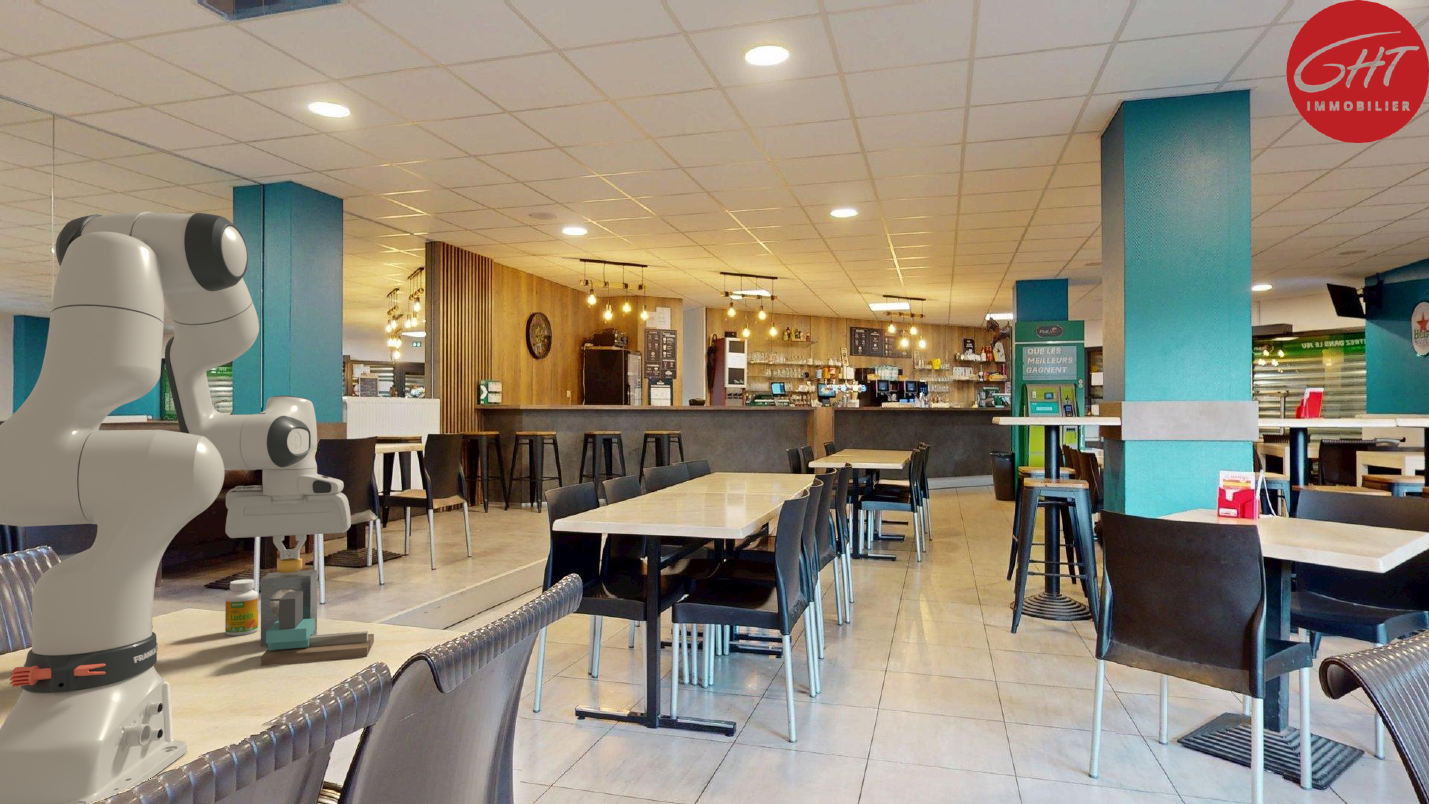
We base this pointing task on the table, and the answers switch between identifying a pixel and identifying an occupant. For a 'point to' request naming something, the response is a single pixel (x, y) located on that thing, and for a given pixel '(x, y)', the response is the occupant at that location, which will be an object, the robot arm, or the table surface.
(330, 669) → the table surface
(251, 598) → the supplement bottle
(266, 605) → the cabinet
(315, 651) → the rail board
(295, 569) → the button
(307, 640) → the carriage
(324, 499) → the robot arm
